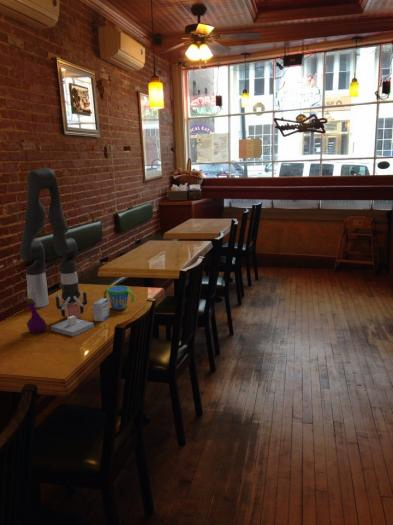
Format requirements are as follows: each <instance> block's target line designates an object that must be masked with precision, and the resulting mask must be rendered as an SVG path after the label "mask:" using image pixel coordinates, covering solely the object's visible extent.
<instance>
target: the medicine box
mask: <svg viewBox="0 0 393 525" xmlns="http://www.w3.org/2000/svg"><path fill="white" fill-rule="evenodd" d="M109 302H110V300H109V298H107V299H106V298H104V297H103V298H102V297H101V298H99V299H98V300H95V302H94V303H92V310H93V317H94V321H95V322H105V320H107V319H108V318H109V317H110V314H111V313H110V305H109V304H110V303H109Z"/></svg>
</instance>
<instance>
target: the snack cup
mask: <svg viewBox="0 0 393 525" xmlns="http://www.w3.org/2000/svg"><path fill="white" fill-rule="evenodd" d="M107 293H108V296H109V298H108V297H107ZM129 295H130V296H131V301H130V302H131V303H132V304H133V303H134V301H135V296H134V293H133V291H132V290H131V289H130V287H129V286H127V285H114V286H110V287H108V288H106V290H105V291H104V292H103V298H106V299H109V302H110V305H111V308H112V310H115V311H116V310H117V311H118V310H120V311H121V310H125V309H127V307H128V301H129V300H128V298H129Z"/></svg>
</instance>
